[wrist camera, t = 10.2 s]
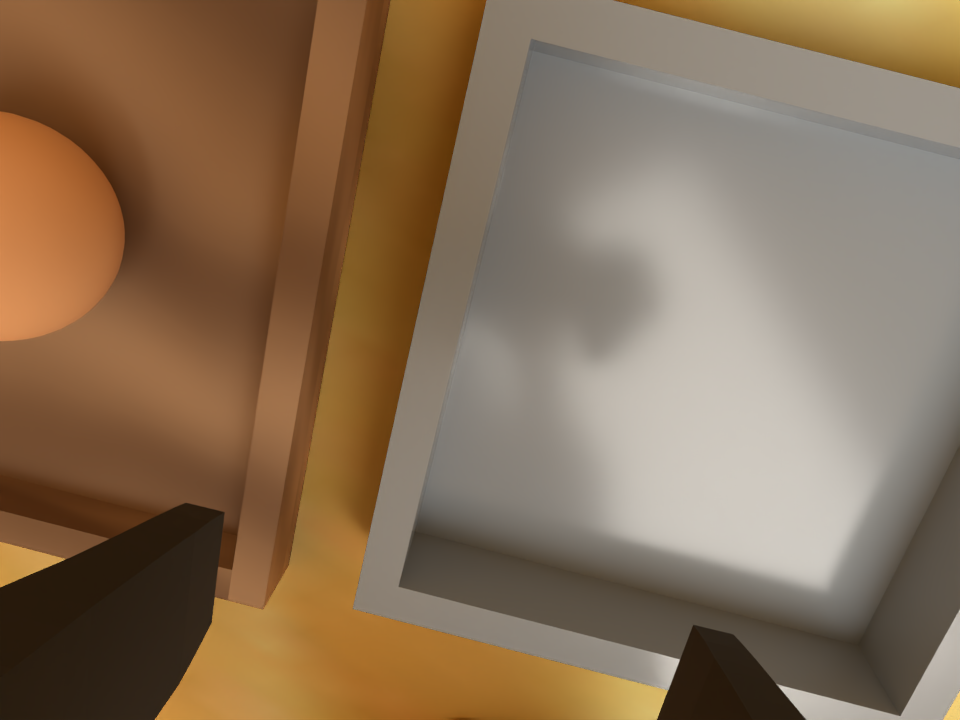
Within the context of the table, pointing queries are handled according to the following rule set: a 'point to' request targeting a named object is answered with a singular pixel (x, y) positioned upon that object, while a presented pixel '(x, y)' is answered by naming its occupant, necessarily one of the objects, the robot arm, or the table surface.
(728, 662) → the robot arm
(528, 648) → the dish
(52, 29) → the tray
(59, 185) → the ball
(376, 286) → the table surface
